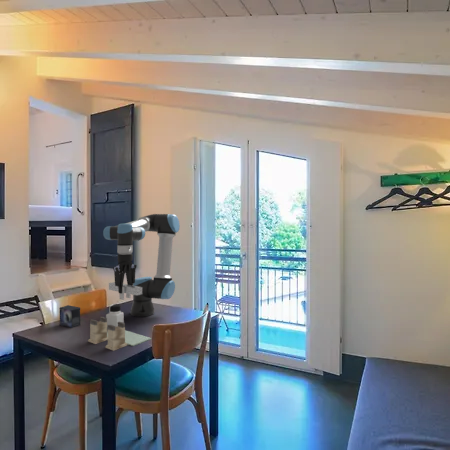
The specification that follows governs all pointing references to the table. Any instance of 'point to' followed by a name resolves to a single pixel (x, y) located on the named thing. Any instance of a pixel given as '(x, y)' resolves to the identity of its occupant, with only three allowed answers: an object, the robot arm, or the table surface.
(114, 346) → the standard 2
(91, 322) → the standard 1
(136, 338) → the mat
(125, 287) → the rail
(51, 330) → the table surface
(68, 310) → the small box
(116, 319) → the medicine bottle
